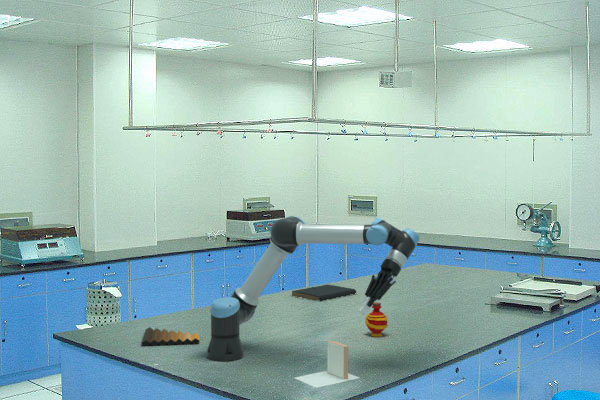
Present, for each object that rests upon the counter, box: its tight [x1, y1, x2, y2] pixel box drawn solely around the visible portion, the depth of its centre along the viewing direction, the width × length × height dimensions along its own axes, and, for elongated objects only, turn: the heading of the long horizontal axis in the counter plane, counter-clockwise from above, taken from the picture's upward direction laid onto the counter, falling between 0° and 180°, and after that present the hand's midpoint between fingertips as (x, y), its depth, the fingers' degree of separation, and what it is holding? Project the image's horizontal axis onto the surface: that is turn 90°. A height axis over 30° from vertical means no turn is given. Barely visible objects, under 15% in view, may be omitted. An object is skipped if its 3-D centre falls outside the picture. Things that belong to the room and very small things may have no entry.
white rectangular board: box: [294, 370, 361, 389], centre depth 249 cm, size 20×14×1 cm
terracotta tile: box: [326, 340, 349, 379], centre depth 251 cm, size 2×10×12 cm, turn 35°
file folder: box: [291, 284, 357, 302], centre depth 417 cm, size 33×4×24 cm
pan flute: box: [141, 326, 201, 348], centre depth 310 cm, size 25×3×25 cm
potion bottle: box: [364, 302, 389, 338], centre depth 315 cm, size 10×10×15 cm
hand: (362, 312), depth 258 cm, fingers closed
